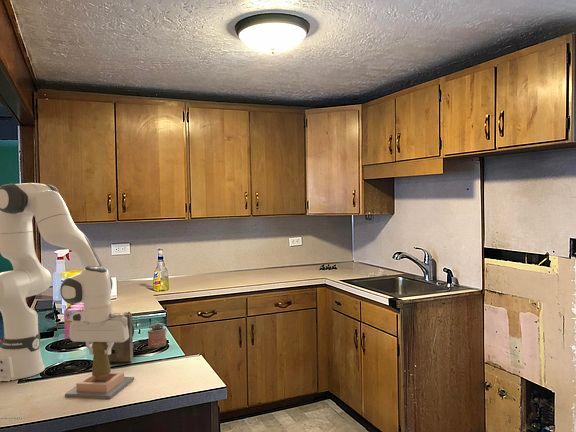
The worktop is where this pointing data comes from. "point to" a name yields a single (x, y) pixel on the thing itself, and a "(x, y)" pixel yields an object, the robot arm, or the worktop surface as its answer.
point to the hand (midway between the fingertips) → (100, 354)
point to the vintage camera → (124, 345)
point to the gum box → (68, 312)
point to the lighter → (157, 336)
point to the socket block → (100, 386)
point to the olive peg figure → (100, 359)
